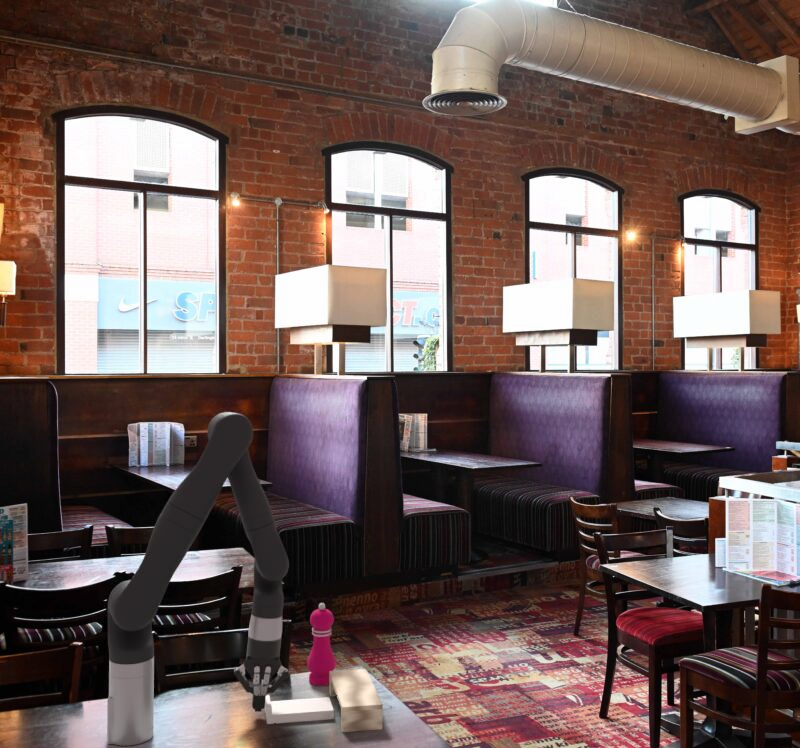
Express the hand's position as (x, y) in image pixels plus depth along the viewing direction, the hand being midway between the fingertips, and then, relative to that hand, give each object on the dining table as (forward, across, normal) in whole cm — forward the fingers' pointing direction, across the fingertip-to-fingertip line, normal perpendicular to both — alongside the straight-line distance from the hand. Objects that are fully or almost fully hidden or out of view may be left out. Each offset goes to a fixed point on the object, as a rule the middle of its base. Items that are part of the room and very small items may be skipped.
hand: (258, 710), depth 200 cm
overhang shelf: (0, +22, 0) cm, 22 cm away
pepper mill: (0, +17, +20) cm, 26 cm away
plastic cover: (+1, +10, 0) cm, 10 cm away
